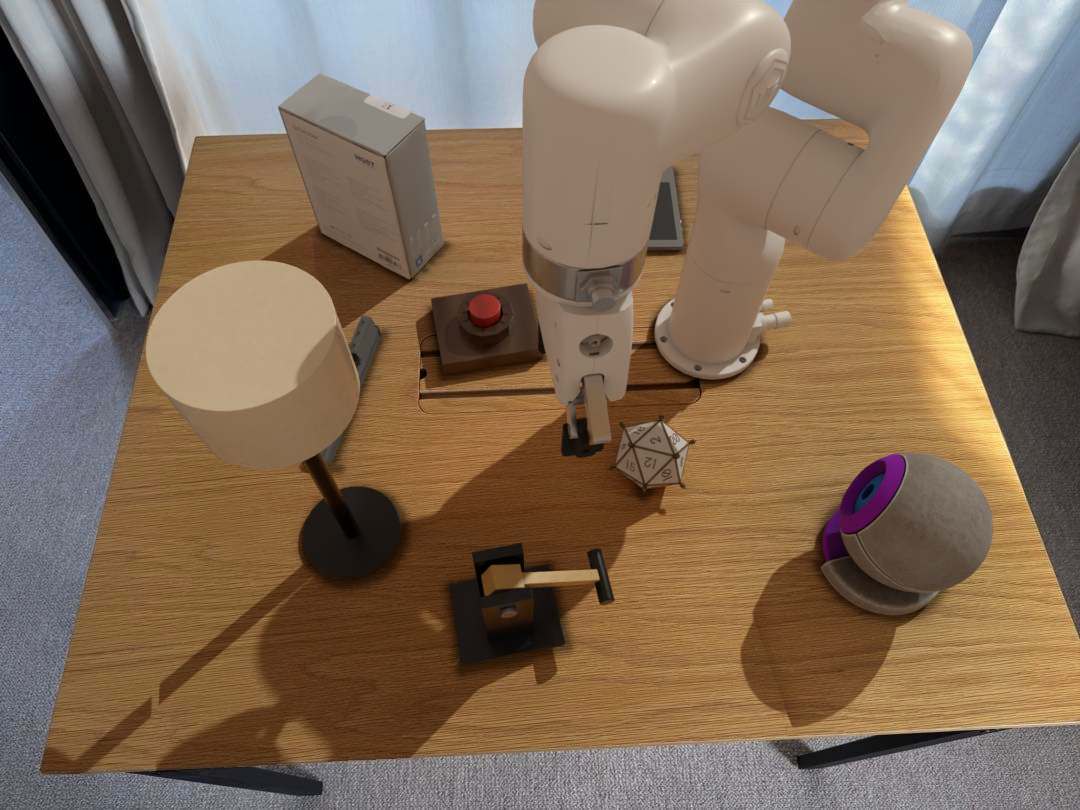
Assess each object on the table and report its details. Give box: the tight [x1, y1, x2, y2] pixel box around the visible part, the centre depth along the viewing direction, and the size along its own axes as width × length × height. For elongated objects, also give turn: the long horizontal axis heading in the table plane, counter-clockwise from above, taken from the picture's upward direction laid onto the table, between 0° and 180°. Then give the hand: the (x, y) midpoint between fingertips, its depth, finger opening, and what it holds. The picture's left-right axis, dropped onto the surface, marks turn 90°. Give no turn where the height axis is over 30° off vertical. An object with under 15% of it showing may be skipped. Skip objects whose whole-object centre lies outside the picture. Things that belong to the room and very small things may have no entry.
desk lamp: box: [145, 260, 403, 581], centre depth 65 cm, size 12×12×36 cm
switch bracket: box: [449, 542, 566, 666], centre depth 70 cm, size 10×8×13 cm
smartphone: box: [647, 166, 685, 251], centre depth 104 cm, size 15×8×1 cm, turn 1°
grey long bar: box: [320, 314, 382, 468], centre depth 87 cm, size 19×3×4 cm, turn 168°
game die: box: [606, 411, 698, 493], centre depth 81 cm, size 9×8×10 cm
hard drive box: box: [277, 72, 445, 280], centre depth 93 cm, size 16×8×20 cm, turn 58°
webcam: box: [820, 452, 994, 616], centre depth 73 cm, size 13×13×15 cm
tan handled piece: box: [481, 547, 616, 606], centre depth 69 cm, size 12×5×2 cm, turn 102°
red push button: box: [469, 294, 501, 327], centre depth 90 cm, size 4×4×2 cm
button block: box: [430, 282, 545, 376], centre depth 92 cm, size 12×10×4 cm
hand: (568, 397), depth 61 cm, fingers open, 9 cm apart
